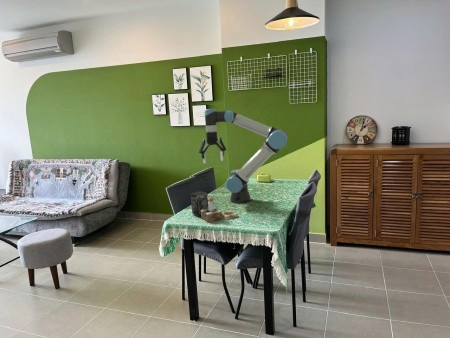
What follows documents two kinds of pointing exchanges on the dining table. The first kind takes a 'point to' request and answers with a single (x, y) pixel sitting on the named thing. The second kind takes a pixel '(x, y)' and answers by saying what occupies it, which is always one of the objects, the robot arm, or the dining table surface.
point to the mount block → (229, 214)
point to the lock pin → (210, 205)
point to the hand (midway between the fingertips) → (213, 161)
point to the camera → (199, 202)
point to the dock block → (211, 215)
